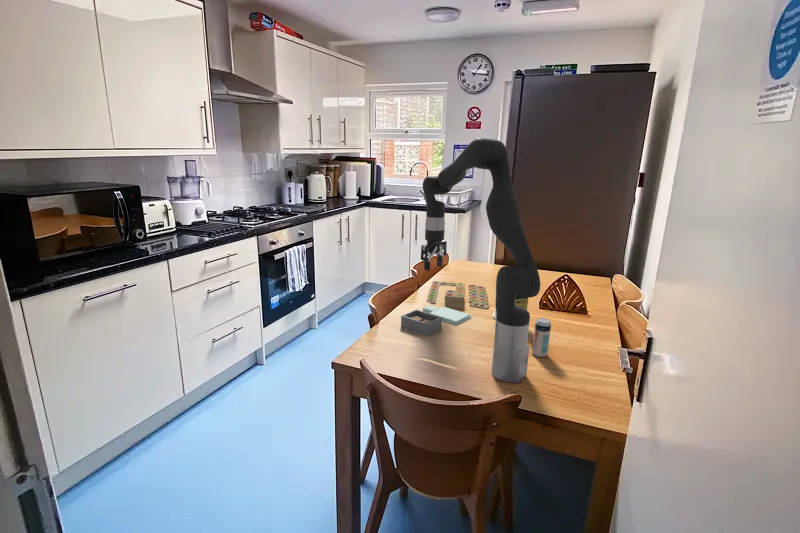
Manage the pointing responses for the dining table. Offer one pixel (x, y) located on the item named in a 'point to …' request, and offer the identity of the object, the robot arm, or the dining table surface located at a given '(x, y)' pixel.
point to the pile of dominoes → (459, 295)
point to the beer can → (541, 337)
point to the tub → (421, 326)
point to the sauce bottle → (521, 302)
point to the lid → (448, 314)
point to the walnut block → (417, 318)
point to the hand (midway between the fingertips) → (433, 268)
